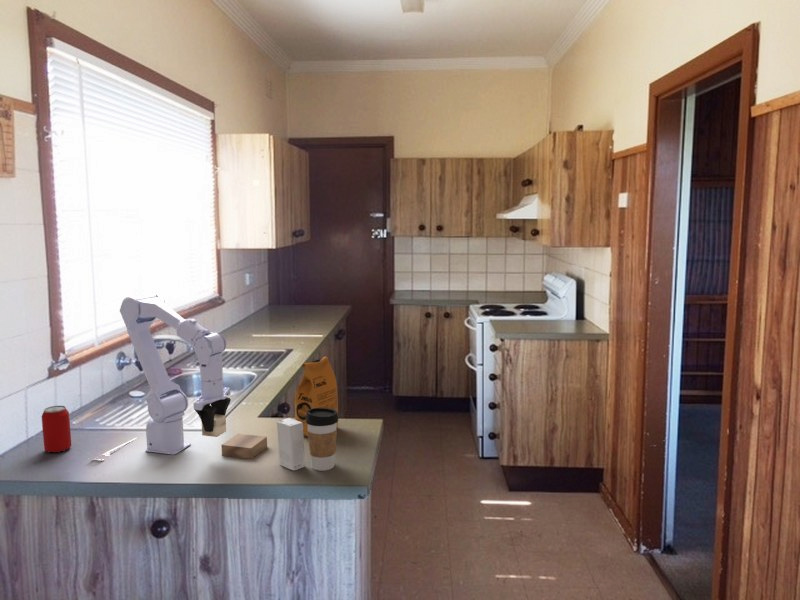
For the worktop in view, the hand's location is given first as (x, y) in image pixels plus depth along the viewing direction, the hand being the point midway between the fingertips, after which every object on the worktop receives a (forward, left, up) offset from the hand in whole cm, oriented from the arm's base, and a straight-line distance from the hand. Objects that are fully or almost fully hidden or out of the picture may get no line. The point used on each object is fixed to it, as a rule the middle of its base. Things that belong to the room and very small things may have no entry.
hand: (214, 428), depth 172 cm
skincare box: (+22, +1, -9) cm, 24 cm away
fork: (-30, -2, -9) cm, 31 cm away
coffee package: (+18, +27, -9) cm, 33 cm away
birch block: (0, 0, -1) cm, 1 cm away
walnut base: (+5, +7, -8) cm, 12 cm away
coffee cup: (+30, +3, -9) cm, 31 cm away
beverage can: (-46, -6, -9) cm, 47 cm away
